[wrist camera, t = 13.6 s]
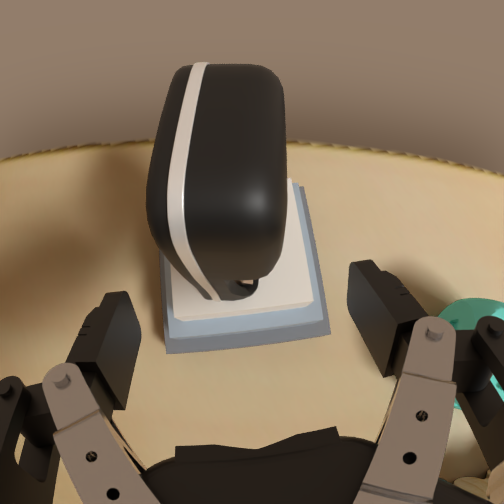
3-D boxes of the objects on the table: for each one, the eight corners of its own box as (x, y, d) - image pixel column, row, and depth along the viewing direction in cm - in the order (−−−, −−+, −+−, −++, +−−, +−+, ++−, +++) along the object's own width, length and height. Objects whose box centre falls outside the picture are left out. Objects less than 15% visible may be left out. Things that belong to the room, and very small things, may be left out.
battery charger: (270, 307, 18) (302, 235, 7) (202, 305, 18) (130, 230, 7) (271, 195, 20) (290, 43, 9) (211, 193, 20) (178, 44, 9)
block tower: (174, 353, 24) (144, 354, 17) (165, 215, 28) (140, 171, 20) (323, 335, 24) (351, 329, 17) (299, 200, 28) (313, 151, 21)
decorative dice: (432, 306, 25) (486, 288, 17) (488, 334, 24) (543, 324, 16) (403, 390, 23) (455, 400, 15) (464, 411, 22) (518, 420, 14)
